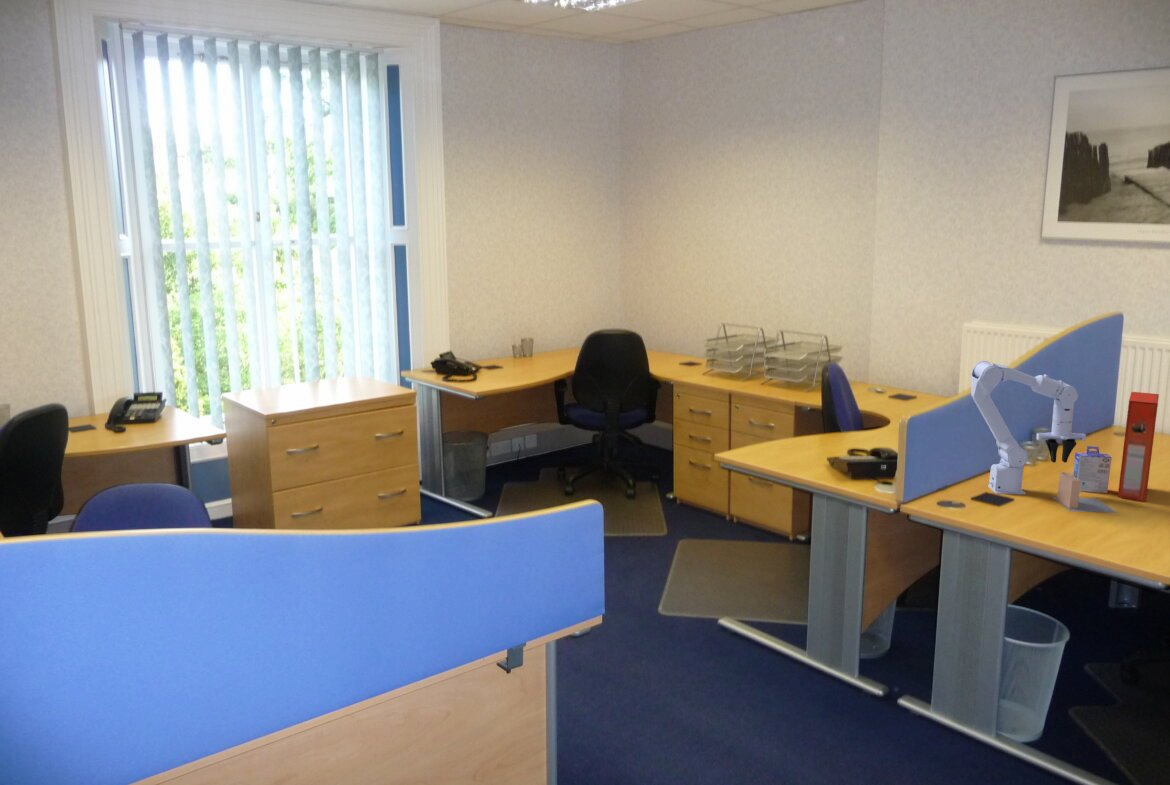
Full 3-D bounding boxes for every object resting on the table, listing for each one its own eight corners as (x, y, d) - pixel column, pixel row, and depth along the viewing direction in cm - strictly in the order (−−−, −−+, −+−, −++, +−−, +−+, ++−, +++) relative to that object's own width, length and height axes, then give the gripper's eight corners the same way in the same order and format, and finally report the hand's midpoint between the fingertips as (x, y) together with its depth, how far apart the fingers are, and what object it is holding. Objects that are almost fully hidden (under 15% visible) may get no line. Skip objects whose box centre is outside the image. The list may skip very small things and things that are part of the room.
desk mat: (1069, 512, 283) (1070, 511, 283) (1051, 497, 297) (1051, 496, 297) (1117, 513, 282) (1117, 512, 282) (1096, 499, 296) (1096, 498, 296)
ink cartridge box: (1102, 488, 307) (1108, 446, 304) (1108, 493, 302) (1113, 450, 299) (1070, 486, 309) (1075, 444, 306) (1075, 491, 304) (1080, 448, 301)
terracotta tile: (1069, 508, 286) (1072, 480, 284) (1057, 499, 294) (1060, 472, 293) (1077, 508, 285) (1081, 480, 284) (1065, 499, 294) (1068, 472, 292)
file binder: (1116, 497, 298) (1129, 400, 291) (1119, 484, 312) (1131, 391, 306) (1145, 502, 293) (1159, 403, 287) (1147, 488, 308) (1160, 394, 301)
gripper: (1043, 423, 294) (1040, 464, 297) (1091, 423, 293) (1087, 465, 296) (1035, 418, 301) (1031, 459, 304) (1081, 418, 300) (1077, 459, 303)
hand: (1058, 461), depth 300 cm, fingers open, 3 cm apart
